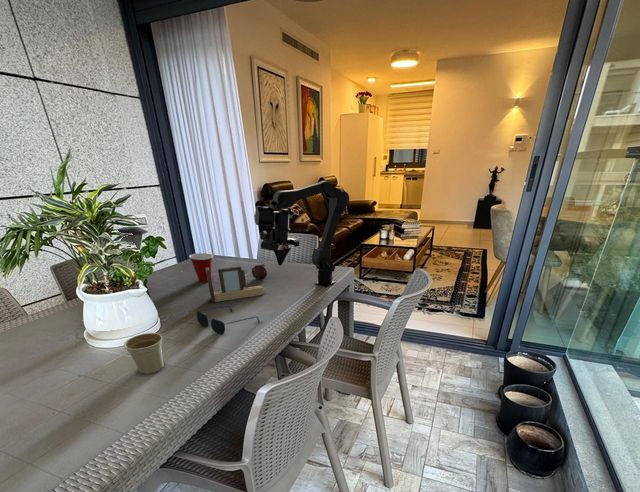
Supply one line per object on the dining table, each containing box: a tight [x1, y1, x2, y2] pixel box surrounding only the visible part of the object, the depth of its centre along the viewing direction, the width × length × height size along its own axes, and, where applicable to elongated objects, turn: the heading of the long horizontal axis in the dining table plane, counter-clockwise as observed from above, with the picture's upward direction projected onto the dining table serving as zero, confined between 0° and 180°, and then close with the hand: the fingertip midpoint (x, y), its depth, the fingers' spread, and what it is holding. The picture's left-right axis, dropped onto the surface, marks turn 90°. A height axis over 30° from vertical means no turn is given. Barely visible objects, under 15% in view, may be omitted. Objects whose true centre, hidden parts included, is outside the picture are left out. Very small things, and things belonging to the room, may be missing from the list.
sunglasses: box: [196, 304, 260, 336], centre depth 122 cm, size 17×15×5 cm
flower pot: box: [123, 332, 164, 375], centre depth 95 cm, size 9×9×9 cm
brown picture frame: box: [217, 266, 247, 293], centre depth 143 cm, size 10×2×11 cm, turn 111°
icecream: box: [251, 263, 268, 281], centre depth 166 cm, size 7×7×15 cm
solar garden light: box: [117, 226, 151, 298], centre depth 132 cm, size 12×12×30 cm
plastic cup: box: [188, 252, 214, 283], centre depth 166 cm, size 11×11×12 cm
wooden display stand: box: [205, 267, 265, 303], centre depth 144 cm, size 21×5×13 cm, turn 111°
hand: (280, 265), depth 146 cm, fingers closed
